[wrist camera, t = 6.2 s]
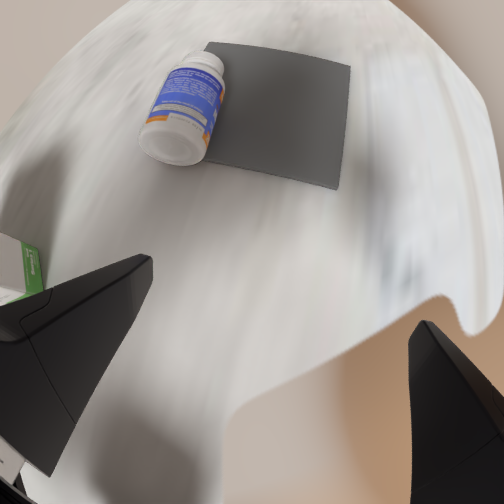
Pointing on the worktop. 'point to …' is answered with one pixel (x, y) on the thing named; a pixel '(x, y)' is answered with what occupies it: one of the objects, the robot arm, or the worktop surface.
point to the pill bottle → (184, 111)
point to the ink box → (18, 270)
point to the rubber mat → (280, 113)
